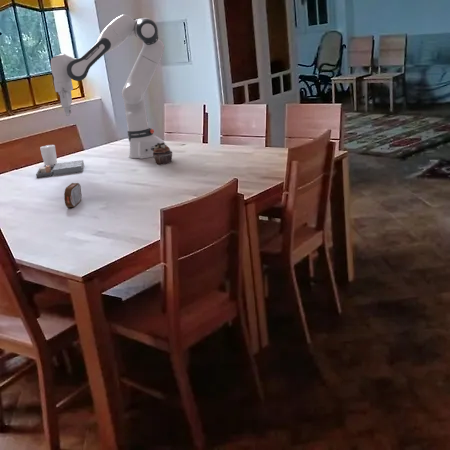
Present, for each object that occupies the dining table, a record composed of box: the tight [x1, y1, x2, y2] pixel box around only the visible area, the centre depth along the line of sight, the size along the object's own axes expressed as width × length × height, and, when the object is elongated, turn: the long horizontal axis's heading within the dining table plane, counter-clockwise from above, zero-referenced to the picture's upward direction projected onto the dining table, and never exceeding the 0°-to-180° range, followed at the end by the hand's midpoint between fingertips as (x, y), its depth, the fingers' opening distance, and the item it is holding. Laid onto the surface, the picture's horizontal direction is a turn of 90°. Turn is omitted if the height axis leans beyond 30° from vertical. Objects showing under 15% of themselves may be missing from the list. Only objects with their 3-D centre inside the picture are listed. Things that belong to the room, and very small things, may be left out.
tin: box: [63, 182, 83, 209], centre depth 260 cm, size 15×3×8 cm, turn 175°
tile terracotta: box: [44, 165, 52, 173], centre depth 324 cm, size 4×4×2 cm
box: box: [35, 165, 55, 179], centre depth 328 cm, size 8×16×2 cm, turn 9°
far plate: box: [53, 159, 85, 177], centre depth 329 cm, size 14×16×3 cm
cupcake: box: [153, 143, 173, 166], centre depth 320 cm, size 10×10×10 cm
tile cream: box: [39, 166, 46, 173], centre depth 331 cm, size 4×4×2 cm
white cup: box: [39, 144, 58, 166], centre depth 350 cm, size 8×8×10 cm
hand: (68, 114), depth 330 cm, fingers open, 8 cm apart
